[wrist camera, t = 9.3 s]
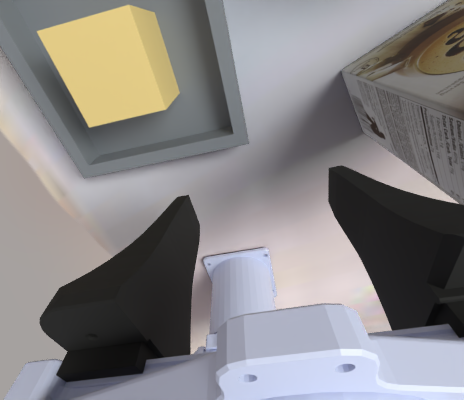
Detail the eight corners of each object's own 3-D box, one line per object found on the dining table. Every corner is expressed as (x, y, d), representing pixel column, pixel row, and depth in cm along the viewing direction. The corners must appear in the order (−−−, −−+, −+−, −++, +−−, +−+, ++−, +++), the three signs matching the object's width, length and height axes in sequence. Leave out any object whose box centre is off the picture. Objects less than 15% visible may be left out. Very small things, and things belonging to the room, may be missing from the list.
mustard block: (179, 92, 19) (166, 109, 15) (119, 107, 19) (89, 127, 15) (154, 12, 16) (128, 4, 12) (84, 32, 16) (36, 31, 12)
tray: (246, 131, 21) (249, 143, 19) (99, 163, 23) (84, 178, 20) (201, -111, 14) (196, -141, 11) (-18, -39, 15) (-62, -52, 13)
